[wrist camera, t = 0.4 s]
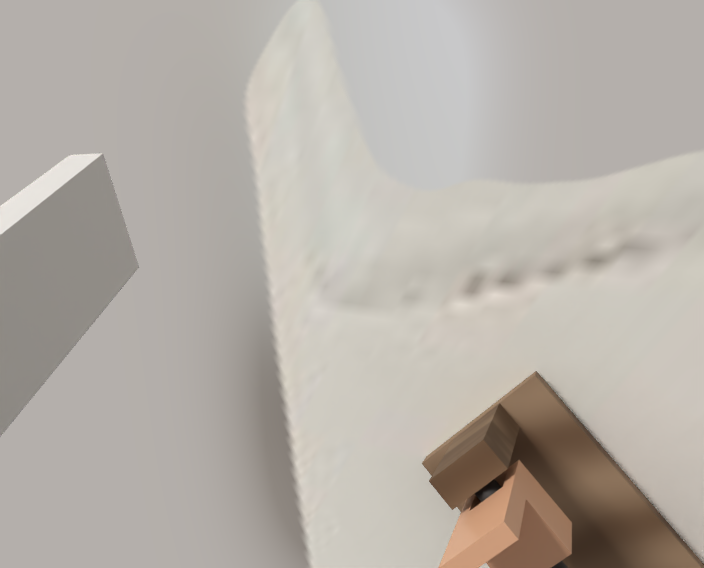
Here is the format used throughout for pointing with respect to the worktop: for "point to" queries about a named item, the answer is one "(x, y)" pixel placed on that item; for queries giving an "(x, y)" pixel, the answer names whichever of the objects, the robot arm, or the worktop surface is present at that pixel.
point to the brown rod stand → (559, 480)
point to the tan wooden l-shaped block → (510, 527)
